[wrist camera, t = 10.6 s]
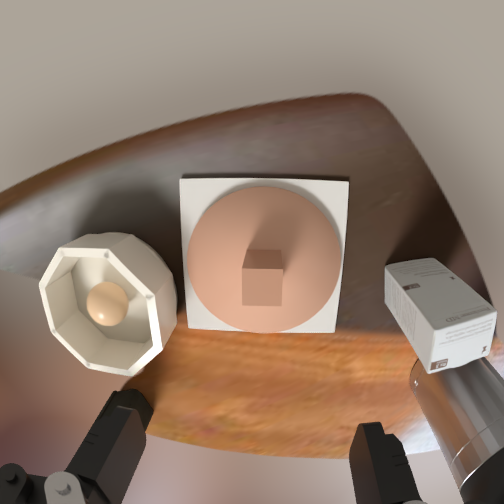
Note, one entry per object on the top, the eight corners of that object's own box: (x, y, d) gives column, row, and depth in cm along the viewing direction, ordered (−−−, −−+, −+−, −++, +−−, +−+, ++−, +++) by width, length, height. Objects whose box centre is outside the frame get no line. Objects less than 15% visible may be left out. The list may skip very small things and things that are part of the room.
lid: (343, 188, 26) (362, 196, 21) (331, 329, 30) (341, 363, 25) (186, 186, 27) (165, 193, 21) (194, 326, 31) (179, 358, 25)
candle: (137, 387, 35) (56, 549, 11) (156, 414, 36) (94, 571, 12) (109, 391, 36) (25, 534, 12) (127, 416, 37) (61, 556, 13)
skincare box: (433, 255, 28) (502, 305, 16) (432, 294, 29) (491, 355, 18) (380, 265, 29) (436, 326, 17) (381, 305, 30) (428, 377, 18)
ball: (132, 276, 29) (113, 294, 25) (138, 315, 31) (121, 336, 26) (96, 274, 30) (74, 290, 25) (103, 311, 31) (83, 331, 27)
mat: (347, 181, 26) (348, 181, 26) (333, 330, 31) (334, 332, 30) (181, 178, 27) (179, 179, 27) (189, 325, 32) (188, 328, 31)
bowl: (172, 231, 29) (150, 249, 23) (183, 348, 33) (168, 382, 27) (65, 231, 30) (31, 246, 24) (85, 335, 33) (60, 361, 28)
